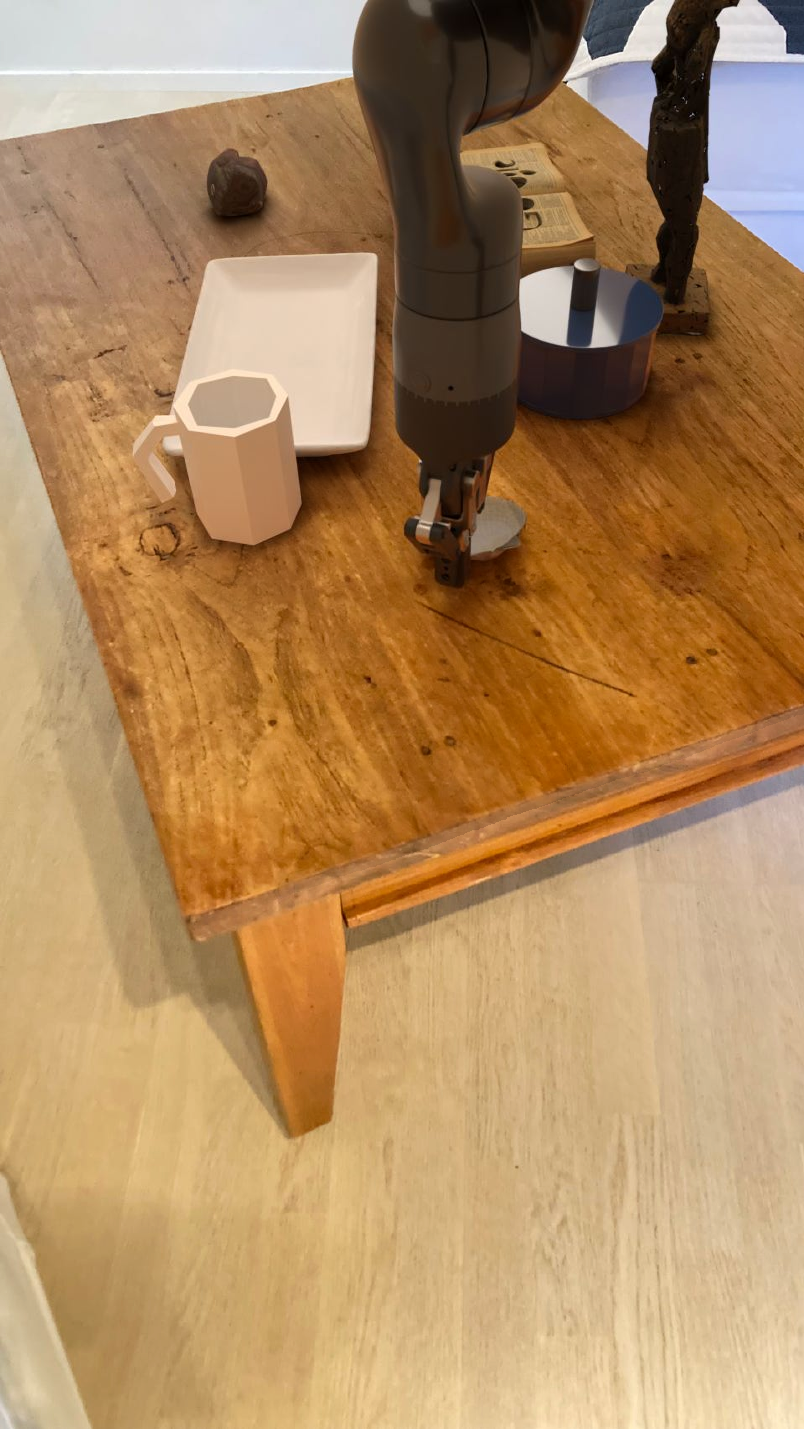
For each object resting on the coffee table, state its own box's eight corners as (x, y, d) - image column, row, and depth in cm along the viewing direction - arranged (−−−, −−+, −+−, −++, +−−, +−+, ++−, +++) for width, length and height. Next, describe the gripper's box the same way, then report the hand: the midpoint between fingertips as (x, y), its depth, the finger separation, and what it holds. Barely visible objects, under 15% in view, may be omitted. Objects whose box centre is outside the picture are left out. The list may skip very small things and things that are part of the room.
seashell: (501, 523, 84) (405, 518, 82) (510, 488, 83) (412, 482, 80) (533, 577, 78) (431, 573, 76) (544, 541, 76) (439, 536, 74)
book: (595, 296, 103) (603, 236, 98) (428, 314, 102) (427, 253, 97) (536, 186, 119) (540, 129, 114) (391, 200, 118) (389, 143, 113)
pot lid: (676, 291, 92) (685, 239, 88) (641, 372, 84) (650, 319, 80) (528, 267, 95) (531, 216, 92) (481, 343, 87) (483, 291, 84)
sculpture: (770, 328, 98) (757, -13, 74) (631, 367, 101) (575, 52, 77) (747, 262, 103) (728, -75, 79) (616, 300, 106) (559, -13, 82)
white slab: (165, 483, 86) (156, 447, 83) (212, 288, 106) (207, 254, 103) (372, 480, 85) (370, 444, 83) (380, 284, 106) (379, 250, 103)
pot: (659, 354, 96) (671, 286, 91) (627, 431, 89) (639, 362, 84) (527, 331, 99) (531, 264, 94) (485, 404, 92) (487, 335, 87)
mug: (298, 471, 86) (285, 364, 79) (304, 540, 81) (291, 431, 73) (151, 485, 86) (123, 378, 78) (147, 555, 80) (117, 447, 73)
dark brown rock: (215, 136, 117) (215, 158, 109) (272, 161, 119) (276, 183, 112) (199, 191, 120) (199, 215, 113) (255, 213, 123) (258, 239, 115)
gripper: (482, 435, 58) (473, 654, 71) (547, 318, 66) (528, 534, 79) (355, 410, 60) (370, 628, 73) (433, 299, 68) (434, 514, 81)
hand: (452, 579), depth 76 cm, fingers closed
